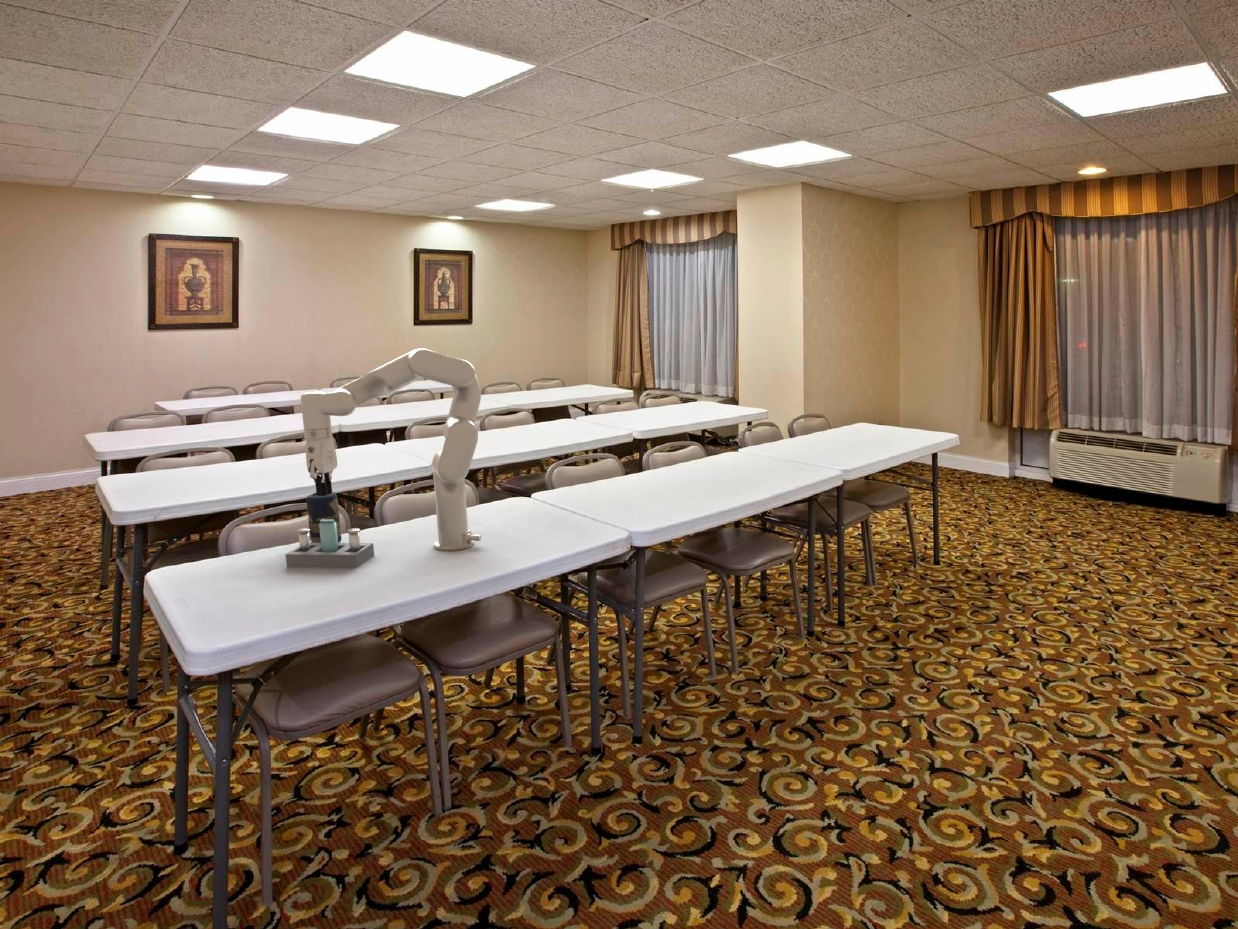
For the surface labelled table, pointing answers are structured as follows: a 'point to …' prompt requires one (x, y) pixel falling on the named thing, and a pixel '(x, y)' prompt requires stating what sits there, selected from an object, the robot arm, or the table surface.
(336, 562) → the housing
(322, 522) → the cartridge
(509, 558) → the table surface
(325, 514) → the canister
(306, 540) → the plunger
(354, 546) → the plunger
